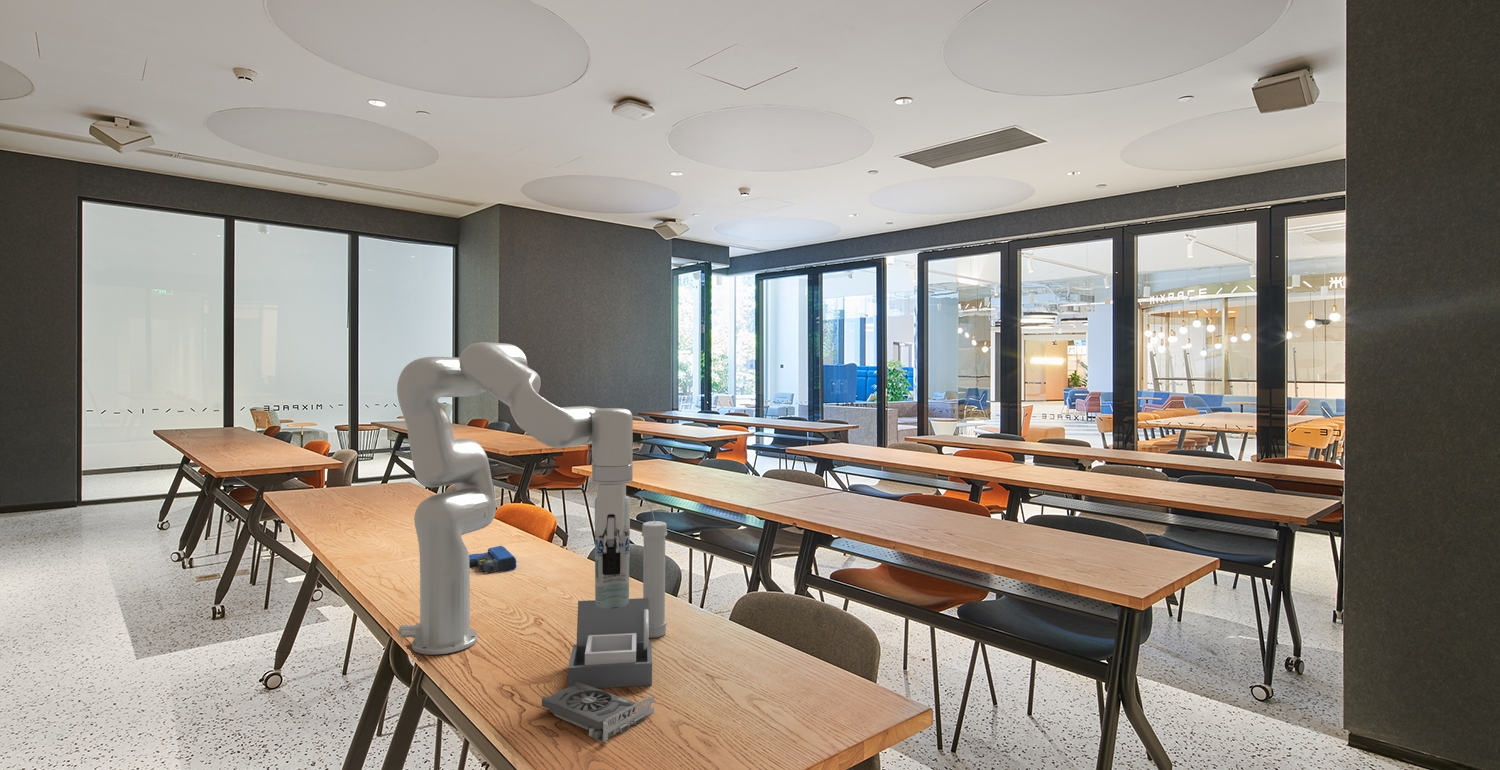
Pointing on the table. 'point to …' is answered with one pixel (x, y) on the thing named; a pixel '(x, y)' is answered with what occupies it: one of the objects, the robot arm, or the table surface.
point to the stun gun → (493, 560)
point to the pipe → (654, 574)
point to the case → (612, 646)
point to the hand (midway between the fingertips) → (612, 568)
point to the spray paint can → (616, 587)
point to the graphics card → (596, 710)
